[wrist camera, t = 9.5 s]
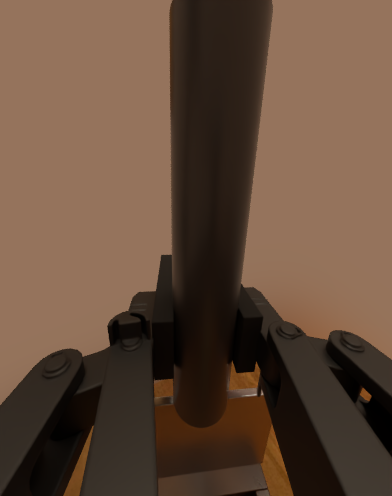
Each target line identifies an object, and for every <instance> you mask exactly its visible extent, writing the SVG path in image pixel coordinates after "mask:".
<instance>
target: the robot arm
mask: <svg viewBox="0 0 392 496" xmlns="http://www.w3.org/2000/svg"><path fill="white" fill-rule="evenodd" d="M107 327H108V333H109V341H110V347H108V348H106V349H105V350H102V351H100V352H97V353H94V354H91V355H87V356H84V357H82V354H81V353H80V352H79V351H78V350H75V349H64V350H60V351H57V352H55V353H52V354H50V355H48V356H47V357H45V358H43V359H42V360H41V361H40V362H39V363H38V364H37V365H35V366H34V367H33V368H32V370H31V371H30V372H29V373H28V374H27V375H26V377H25V378H24V379H23V380H22V381H21V382H20V383H19V385H18V386H17V387H16V388H15V389H14V390H13V392H12V393H11V394H10V395H9V396H8V397H7V398H6V400H5V401H4V402H3V403H2V404H1V405H0V496H63V495H64V492H65V490H66V488H67V485H68V483H69V481H70V478H71V476H72V473H73V471H74V469H75V466H76V464H77V461H78V459H79V457H80V454H81V452H82V450H83V447H84V445H85V442H86V440H87V438H88V435H89V433H90V431H91V428H92V426H93V425H94V428H93V432H92V437H91V442H90V447H89V452H88V457H87V461H86V466H85V471H84V476H83V481H82V486H81V491H80V495H79V496H159V491H158V469H157V447H156V424H155V402H154V378H155V380H164V379H174V311H173V305H172V255H161V261H160V268H159V275H158V282H157V289H156V291H154V292H139V293H137V294H136V295H135V296H134V297H133V299H132V301H131V304H130V308H129V311H126V312H122V313H120V314H118V315H116V316H115V317H114V318H113V319H111V320H110V322H109V324H108V326H107ZM232 361H233V364H234V367H235V370H236V373H244V372H254V370H255V364H256V362H257V364H258V366H259V368H260V370H261V371H260V377H259V382H258V388H257V397H260V395H261V390H262V392H263V395H264V398H265V402H266V405H267V408H268V411H269V415H270V418H271V421H272V425H273V428H274V431H275V435H276V438H277V441H278V445H279V448H280V451H281V455H282V458H283V461H284V464H285V468H286V471H287V474H288V478H289V481H290V484H291V488H292V491H293V494H294V496H392V360H391V359H390V358H389V357H387V356H386V355H384V354H383V353H382V352H380V351H379V350H378V349H376V348H375V347H374V346H372V345H371V344H370V343H368V342H367V341H365V340H364V339H362V338H361V337H359V336H357V335H355V334H352V333H350V332H346V331H342V330H335V331H332V332H331V333H330V335H329V338H328V340H325V339H319V338H314V337H309V336H306V334H305V333H304V332H303V331H302V330H301V329H300V328H299V327H297V326H296V325H294V324H292V323H289V322H286V321H283V320H282V318H281V317H280V316H279V315H278V313H277V312H276V311H275V310H274V308H273V307H272V306H271V305H270V304H269V302H268V301H267V300H266V299H265V297H264V296H263V294H262V293H261V292H260V291H258V290H257V289H255V288H253V287H252V288H251V287H250V288H244V287H243V285H242V284H241V287H240V296H239V304H238V313H237V322H236V330H235V339H234V347H233V356H232ZM362 388H364V389H365V390H366V391H367V392H368V393H369V394H370V395H371V396H372V397H371V399H370V401H367V400H365V399H364V398H363V397H361V396H360V393H361V390H362Z"/></svg>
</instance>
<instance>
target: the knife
mask: <svg viewBox="0 0 392 496" xmlns="http://www.w3.org/2000/svg"><path fill="white" fill-rule="evenodd" d="M272 13H273V5H272V0H173V1H172V3H171V7H170V101H171V102H170V110H171V199H172V200H171V202H172V203H171V204H172V205H171V207H172V305H173V311H174V379H173V396H167V397H156V398H154V402H155V424H156V447H157V469H158V478H165V477H172V476H179V475H185V474H192V473H199V472H206V471H213V470H220V469H227V468H233V467H240V466H247V465H254V464H261V463H263V458H264V454H265V450H266V446H267V441H268V437H269V433H270V428H271V424H272V421H271V418H270V415H269V411H268V408H267V405H266V402H265V398H264V395H263V392H262V390H261V395H260V397H257V388H249V389H238V390H229V382H230V373H231V364H232V356H233V347H234V339H235V330H236V322H237V313H238V304H239V296H240V287H241V279H242V269H243V261H244V253H245V244H246V236H247V227H248V219H249V210H250V201H251V193H252V184H253V176H254V167H255V159H256V150H257V142H258V133H259V124H260V116H261V107H262V98H263V90H264V82H265V73H266V65H267V56H268V47H269V39H270V30H271V22H272Z"/></svg>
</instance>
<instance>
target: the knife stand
mask: <svg viewBox="0 0 392 496" xmlns="http://www.w3.org/2000/svg"><path fill="white" fill-rule="evenodd" d="M158 491H159V496H270V493H269V490H268V487H267V484H266V480H265V477H264V474H263V471H262V467H261V464H254V465H247V466H240V467H233V468H227V469H220V470H213V471H206V472H199V473H192V474H185V475H179V476H172V477H165V478H158Z"/></svg>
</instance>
